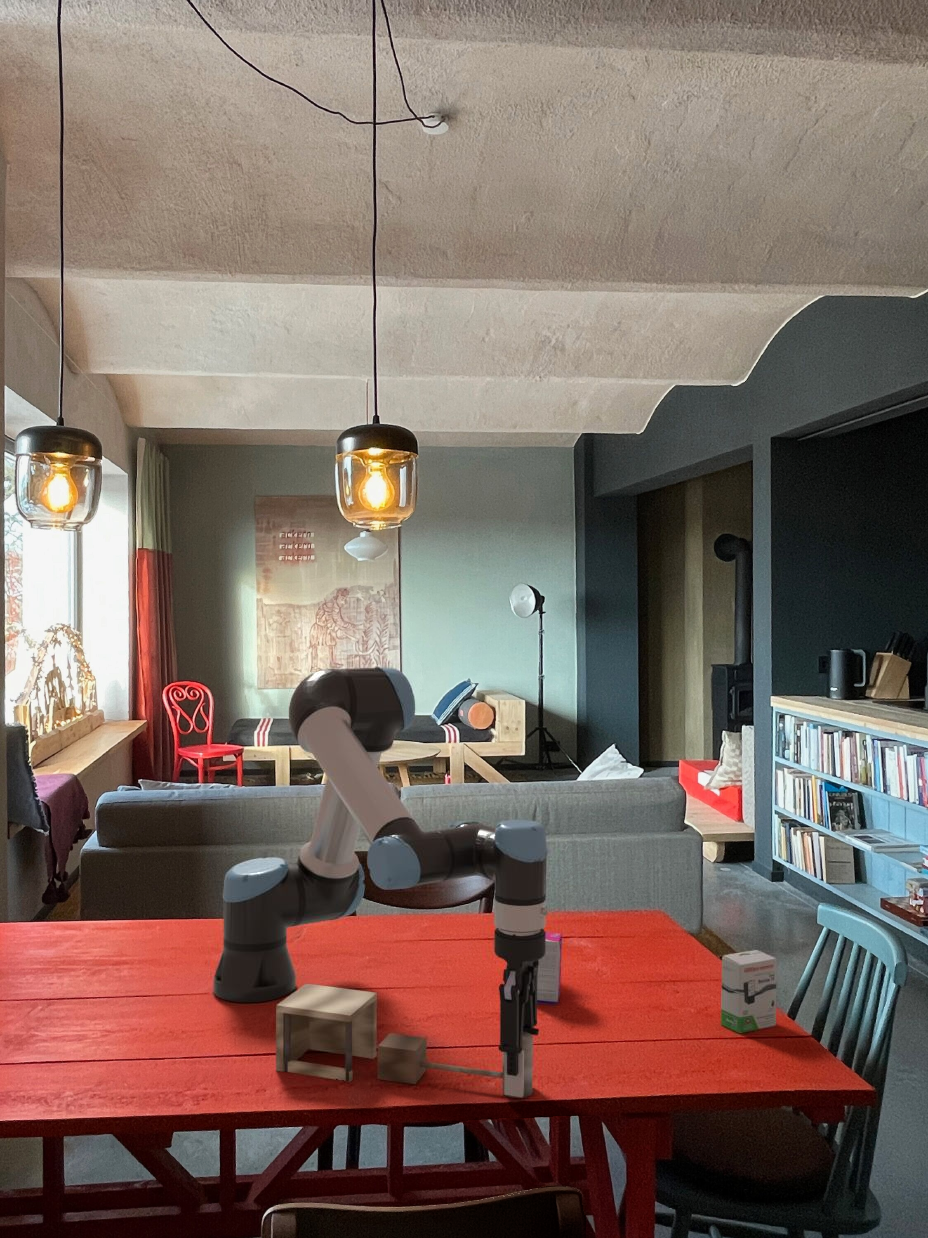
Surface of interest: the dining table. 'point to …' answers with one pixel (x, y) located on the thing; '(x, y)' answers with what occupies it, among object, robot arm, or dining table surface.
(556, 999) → the supplement box
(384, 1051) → the tethered cylinder
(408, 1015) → the dining table surface
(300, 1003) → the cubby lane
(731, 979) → the ink box
